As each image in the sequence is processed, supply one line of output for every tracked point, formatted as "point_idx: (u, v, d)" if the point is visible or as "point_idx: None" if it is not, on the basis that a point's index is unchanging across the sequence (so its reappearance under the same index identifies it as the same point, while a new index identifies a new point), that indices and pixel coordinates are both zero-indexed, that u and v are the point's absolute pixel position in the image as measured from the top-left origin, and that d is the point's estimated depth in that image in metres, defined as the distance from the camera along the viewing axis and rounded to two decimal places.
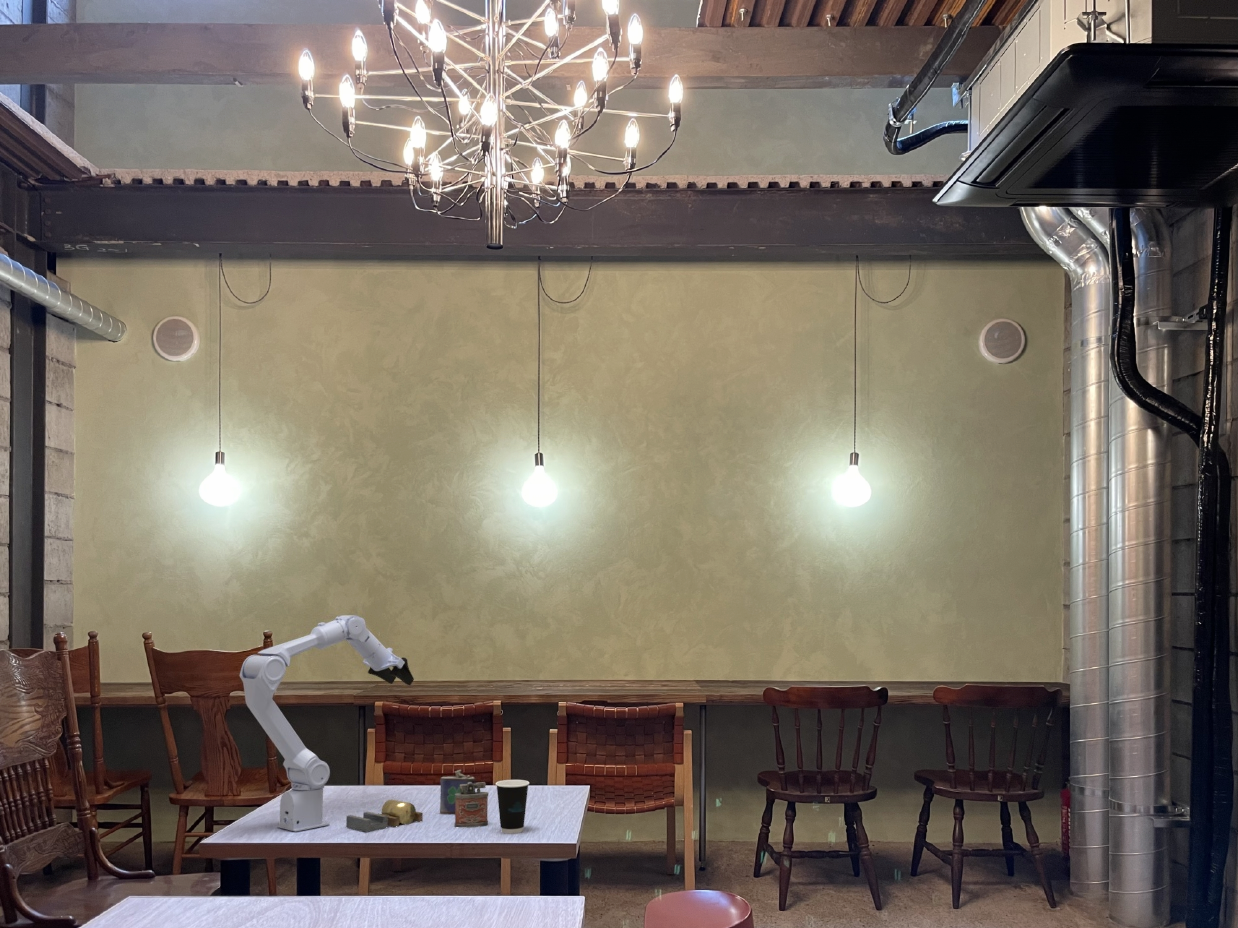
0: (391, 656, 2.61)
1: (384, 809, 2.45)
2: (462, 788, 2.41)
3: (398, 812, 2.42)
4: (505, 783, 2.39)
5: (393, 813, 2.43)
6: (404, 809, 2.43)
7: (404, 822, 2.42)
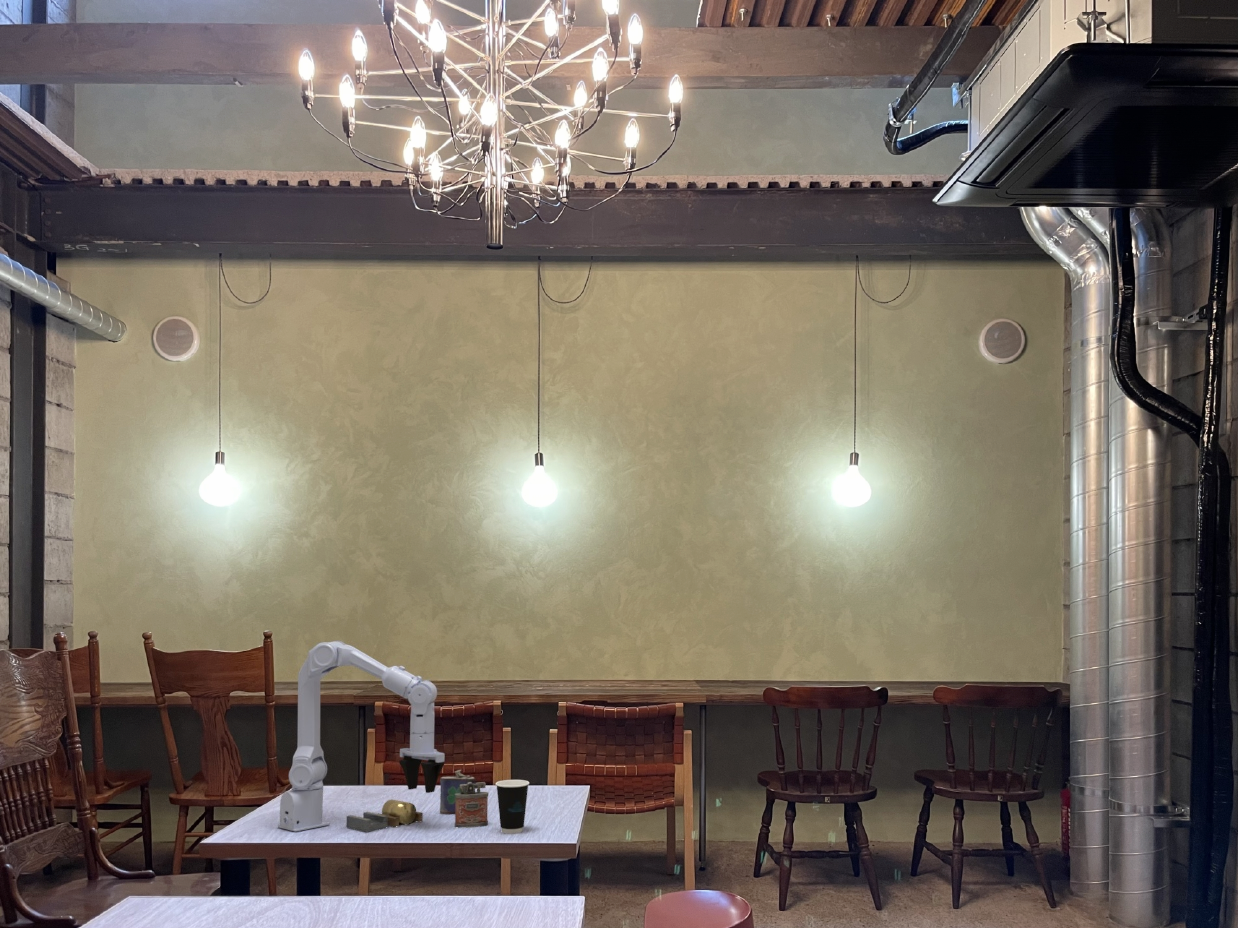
0: (433, 752, 2.41)
1: (385, 808, 2.45)
2: (462, 788, 2.41)
3: (398, 812, 2.42)
4: (505, 783, 2.39)
5: (393, 812, 2.43)
6: (404, 809, 2.43)
7: (404, 822, 2.42)
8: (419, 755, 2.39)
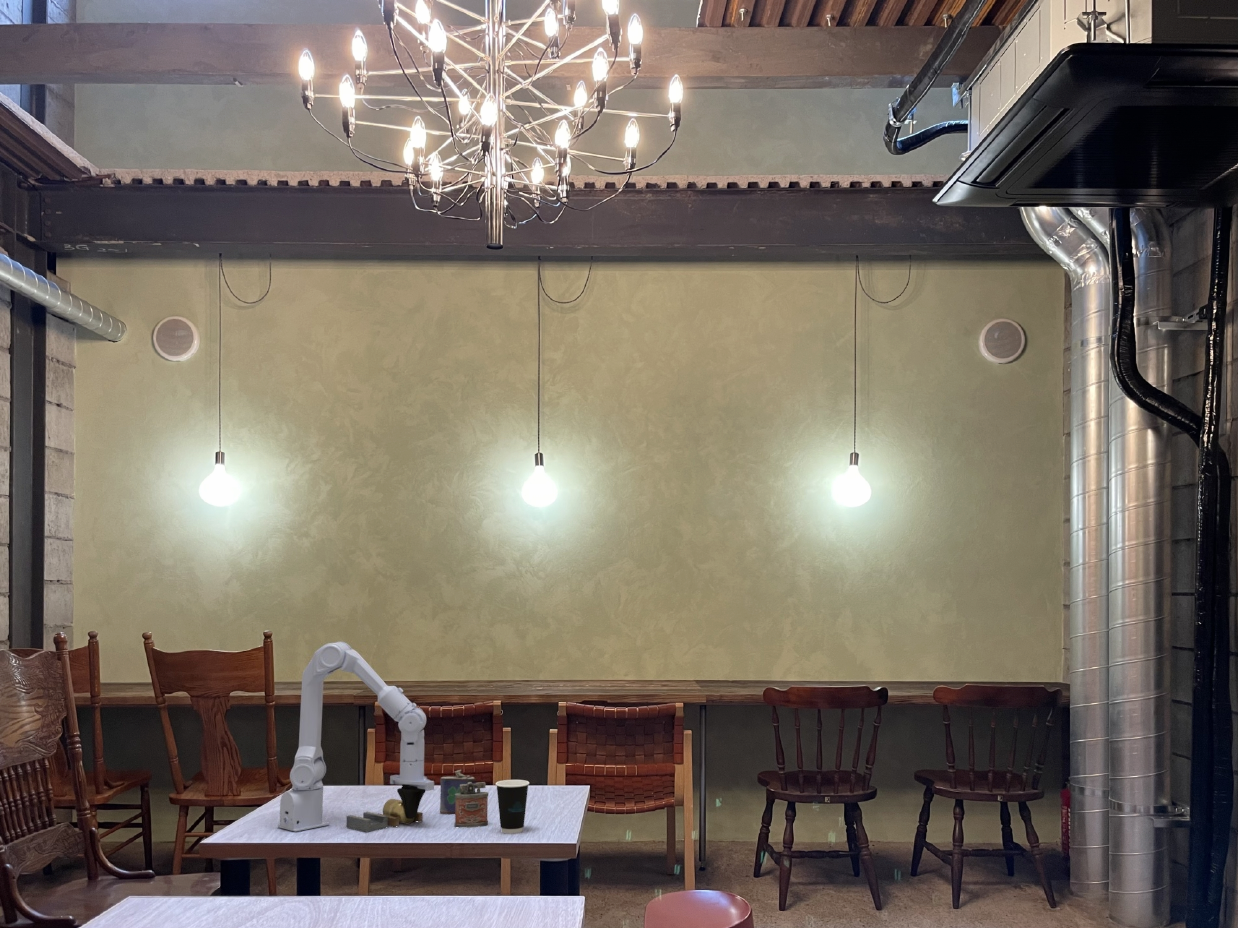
0: (423, 780, 2.43)
1: (386, 806, 2.46)
2: (462, 788, 2.41)
3: (400, 809, 2.42)
4: (505, 783, 2.39)
5: (394, 810, 2.44)
6: None
7: (404, 820, 2.42)
8: (409, 783, 2.40)
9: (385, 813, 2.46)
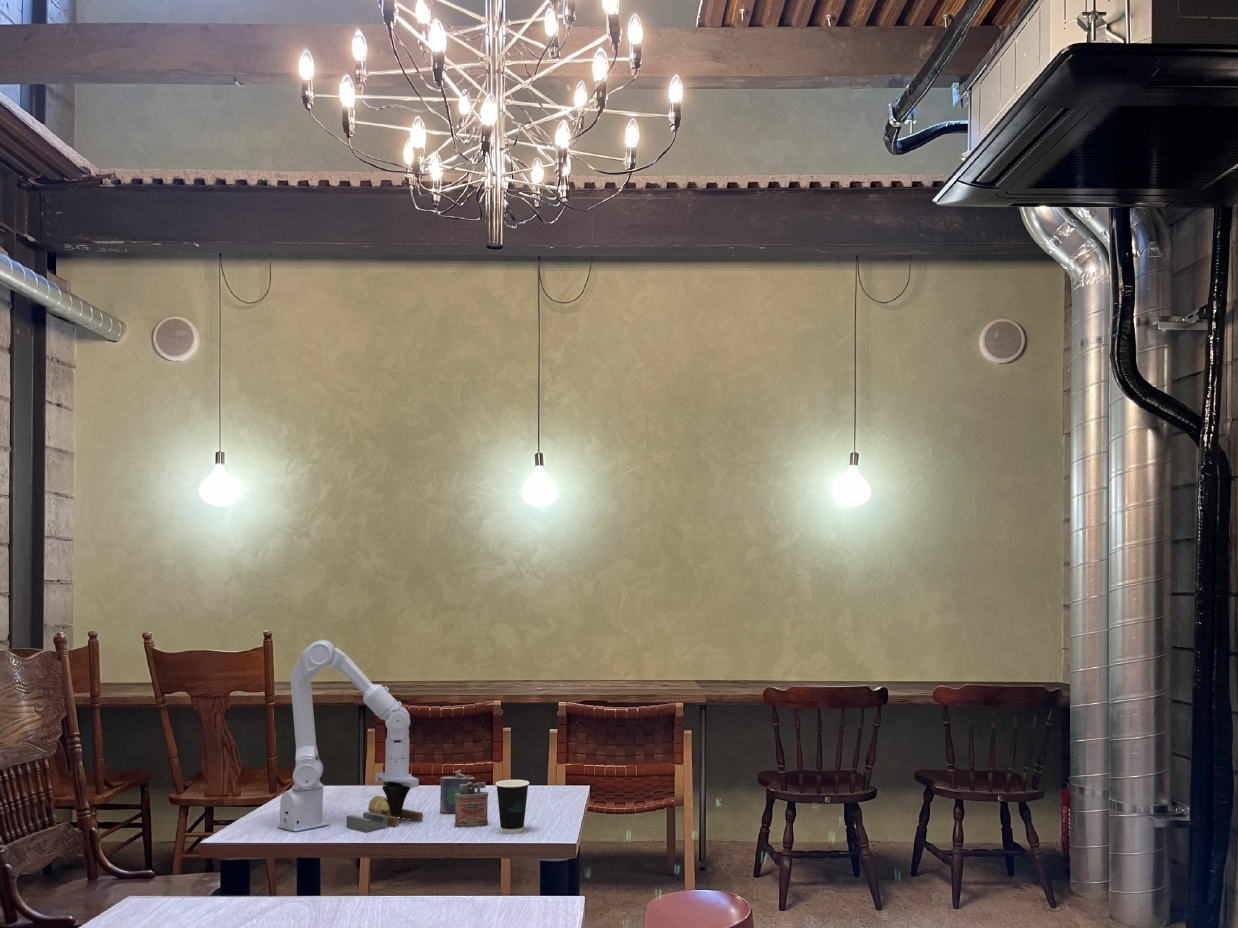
0: (408, 777, 2.46)
1: (372, 803, 2.50)
2: (462, 788, 2.41)
3: (385, 806, 2.46)
4: (505, 783, 2.39)
5: (379, 807, 2.47)
6: None
7: None
8: (394, 780, 2.44)
9: (371, 810, 2.49)
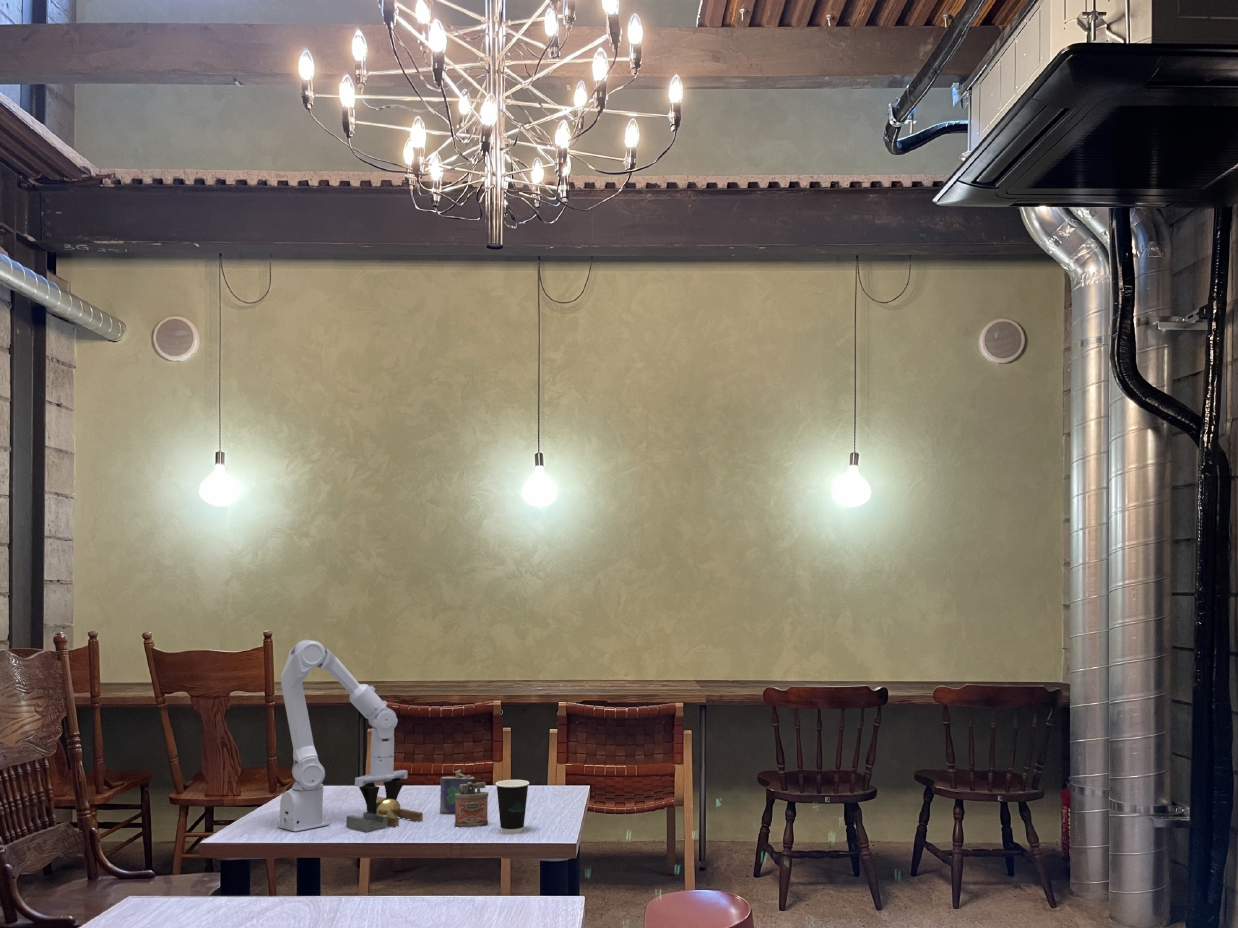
0: None
1: None
2: (462, 788, 2.41)
3: (382, 809, 2.46)
4: (505, 783, 2.39)
5: (377, 810, 2.47)
6: (388, 806, 2.46)
7: None
8: None
9: None
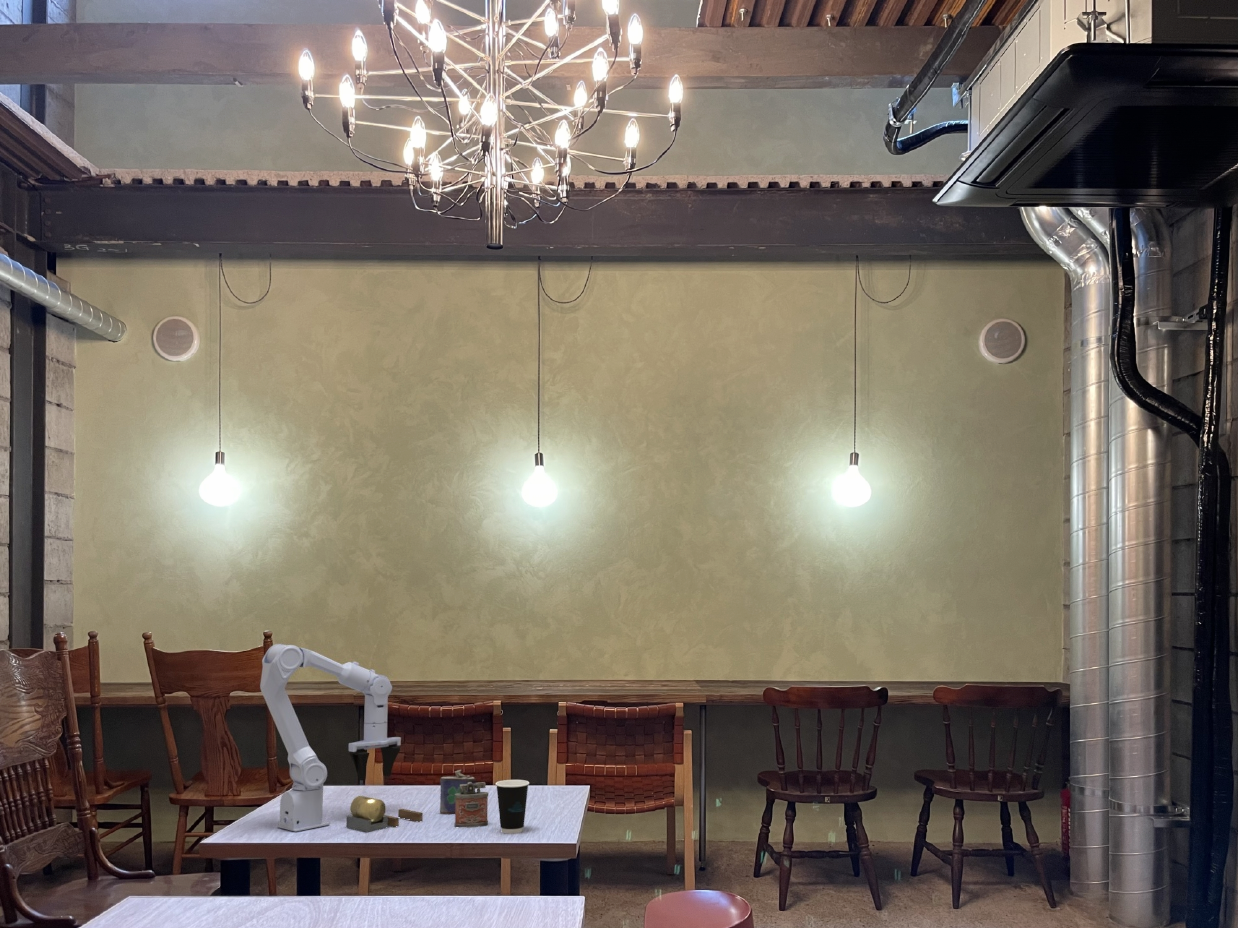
0: (369, 743, 2.51)
1: (353, 806, 2.39)
2: (462, 788, 2.41)
3: (367, 809, 2.36)
4: (505, 783, 2.39)
5: (361, 810, 2.37)
6: (373, 806, 2.37)
7: (373, 819, 2.37)
8: None
9: (353, 813, 2.39)
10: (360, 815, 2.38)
